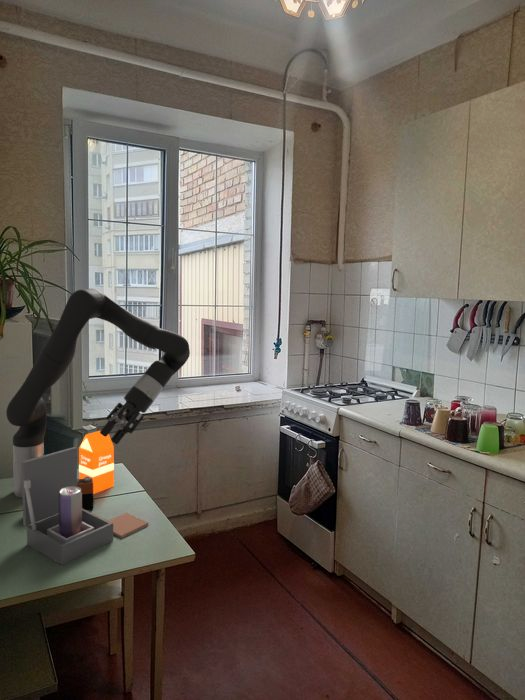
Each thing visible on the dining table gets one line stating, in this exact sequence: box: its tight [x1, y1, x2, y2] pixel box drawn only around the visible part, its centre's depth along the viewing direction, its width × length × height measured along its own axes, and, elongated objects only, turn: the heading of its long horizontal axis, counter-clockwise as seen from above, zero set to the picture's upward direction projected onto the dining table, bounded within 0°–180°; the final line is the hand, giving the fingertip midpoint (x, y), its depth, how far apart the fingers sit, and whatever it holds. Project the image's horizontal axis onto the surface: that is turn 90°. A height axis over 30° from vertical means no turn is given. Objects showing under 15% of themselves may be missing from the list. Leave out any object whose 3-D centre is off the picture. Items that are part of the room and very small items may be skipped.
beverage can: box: [58, 486, 82, 538], centre depth 138 cm, size 6×6×15 cm
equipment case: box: [22, 446, 114, 566], centre depth 138 cm, size 18×16×23 cm
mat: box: [107, 512, 149, 539], centre depth 149 cm, size 10×10×1 cm
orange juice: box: [78, 430, 115, 495], centre depth 174 cm, size 8×9×20 cm
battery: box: [77, 477, 94, 511], centre depth 158 cm, size 4×7×10 cm, turn 111°
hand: (107, 438), depth 142 cm, fingers open, 8 cm apart
